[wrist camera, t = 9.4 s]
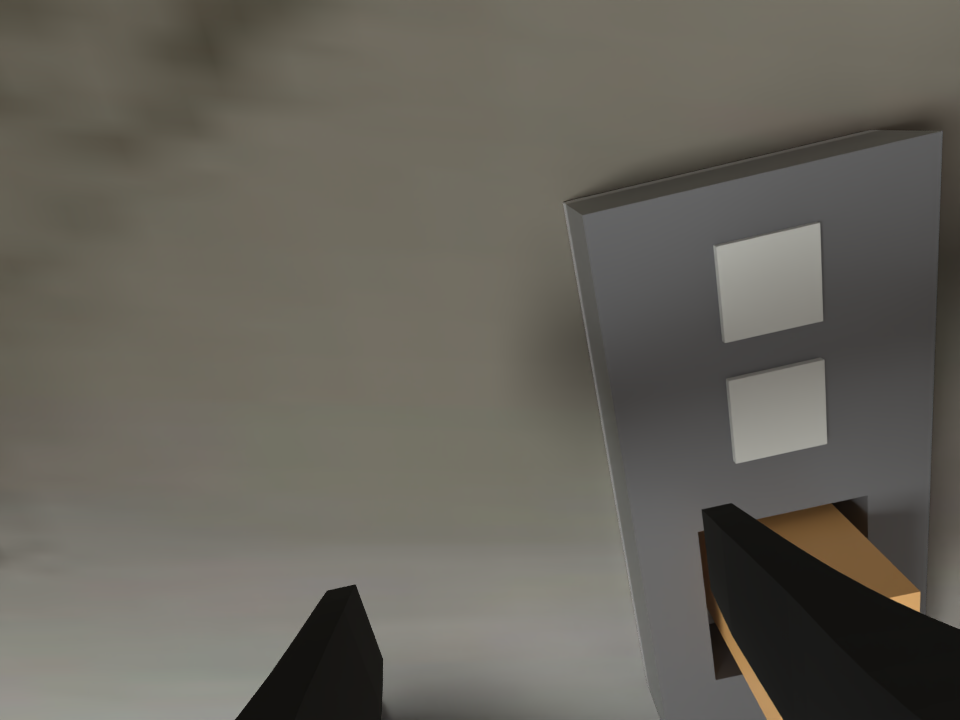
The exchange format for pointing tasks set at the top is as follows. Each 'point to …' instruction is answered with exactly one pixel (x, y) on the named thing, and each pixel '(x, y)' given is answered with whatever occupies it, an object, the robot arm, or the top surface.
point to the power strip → (761, 370)
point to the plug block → (834, 546)
